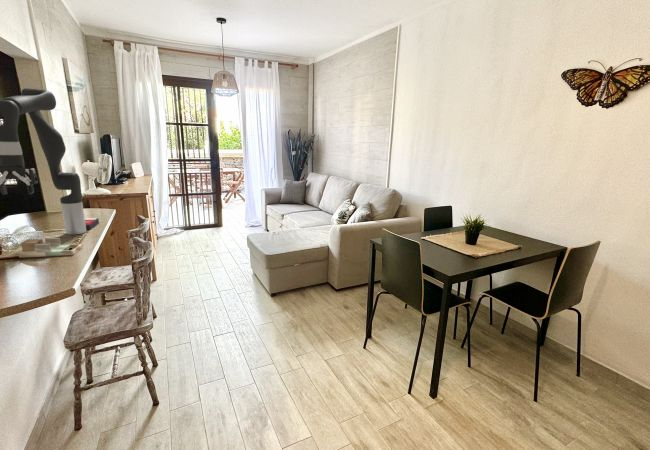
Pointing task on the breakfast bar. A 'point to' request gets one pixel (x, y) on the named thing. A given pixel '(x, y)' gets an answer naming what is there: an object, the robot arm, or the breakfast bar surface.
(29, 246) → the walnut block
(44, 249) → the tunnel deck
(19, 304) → the breakfast bar surface
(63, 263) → the breakfast bar surface
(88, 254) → the breakfast bar surface
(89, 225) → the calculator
